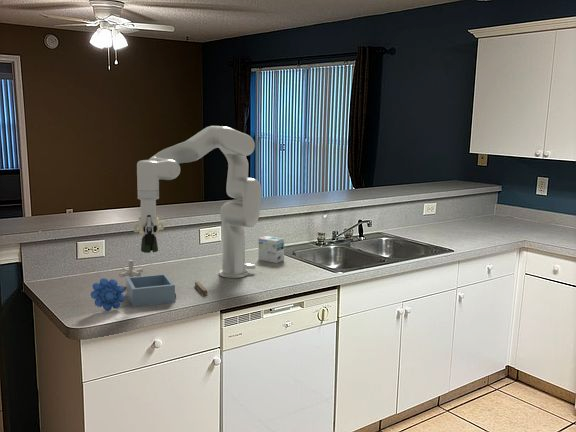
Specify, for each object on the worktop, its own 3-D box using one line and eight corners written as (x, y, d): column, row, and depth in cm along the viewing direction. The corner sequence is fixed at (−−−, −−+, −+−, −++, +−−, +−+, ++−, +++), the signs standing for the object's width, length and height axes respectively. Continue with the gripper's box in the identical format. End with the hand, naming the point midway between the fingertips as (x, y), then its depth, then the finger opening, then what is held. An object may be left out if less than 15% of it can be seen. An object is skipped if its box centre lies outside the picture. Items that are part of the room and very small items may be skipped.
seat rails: (199, 286, 231) (198, 281, 231) (207, 295, 221) (207, 290, 220) (165, 289, 226) (165, 284, 226) (171, 299, 215) (171, 294, 215)
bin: (166, 289, 226) (166, 273, 225) (175, 302, 212) (174, 285, 211) (126, 294, 220) (126, 277, 219) (132, 307, 206) (132, 289, 205)
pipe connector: (134, 279, 238) (133, 255, 236) (149, 284, 232) (148, 260, 230) (113, 284, 231) (112, 260, 229) (128, 290, 225) (127, 265, 223)
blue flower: (93, 317, 196) (92, 283, 194) (89, 310, 202) (88, 277, 199) (128, 311, 201) (127, 278, 199) (123, 305, 207) (122, 273, 205)
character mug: (137, 256, 207) (135, 220, 205) (132, 251, 213) (131, 216, 211) (166, 253, 212) (166, 218, 210) (161, 248, 218) (160, 214, 216)
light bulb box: (284, 260, 273) (284, 238, 271) (276, 263, 267) (277, 240, 265) (265, 256, 278) (266, 235, 276) (257, 259, 272) (258, 237, 270)
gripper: (137, 191, 216) (139, 237, 219) (137, 198, 199) (138, 248, 203) (158, 190, 218) (159, 236, 221) (159, 198, 201) (160, 247, 205)
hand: (149, 241), depth 212 cm, fingers closed on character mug, 7 cm apart
